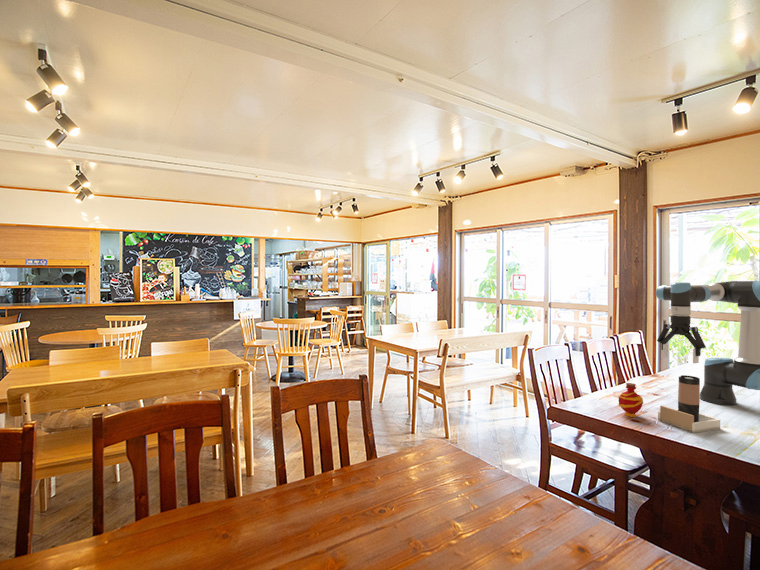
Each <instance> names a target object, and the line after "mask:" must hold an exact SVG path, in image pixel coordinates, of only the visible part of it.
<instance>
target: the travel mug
mask: <svg viewBox="0 0 760 570" xmlns="http://www.w3.org/2000/svg"><path fill="white" fill-rule="evenodd" d="M700 379H701V378H699V377H697V376H693V375H687V374H686V375H680V376H678V392H677V409H678V411H681V412H684V413H687V414H690V415H694V423H695V422H698V420H699V413H700V400H701V399H700V393H701V391H700V389H701V388H700V387H701V386H700V382H701V380H700Z"/></svg>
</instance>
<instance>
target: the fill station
mask: <svg viewBox="0 0 760 570" xmlns="http://www.w3.org/2000/svg"><path fill="white" fill-rule="evenodd" d="M657 421H659V422H661V423H665V424H668V425H670V426H673V427H677V428H680V429H682V430H684V431H685V430H686V431H687V432H691V433H693V434H697V433H704V432H709V431H714V430H716V431H717V430H720V429H721V419H719V418H716V417H712V416H709V415H705V414H702V413H700V412H699V420H698V422H695V423H694V415H690V414H687V413H684V412H681V411H678V408H670V407H667V406H664V405H660V407H659V411H657Z"/></svg>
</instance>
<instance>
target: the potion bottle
mask: <svg viewBox="0 0 760 570" xmlns="http://www.w3.org/2000/svg"><path fill="white" fill-rule="evenodd" d="M625 385H626V386H625V389H627V391H623V392H622V393H620V395H619V396H618V407H620V408H621V409H622V410H623V411H624V412H625V413H624V414H623V415H624V416H625V417H626V416H627V417H629V416H630V418H637V417H638V416H637V413H638V412H639V411H640V410H641V409H642V407H643V404H644V400H643V396H641V394H638V393H637V392H636V391H635V390H636V389H637V387H636V385H637V384H635V383H632V382H626V383H625Z"/></svg>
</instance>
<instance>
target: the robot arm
mask: <svg viewBox="0 0 760 570" xmlns="http://www.w3.org/2000/svg"><path fill="white" fill-rule="evenodd" d="M655 296H656V298H657V299H658V300H661V301H670V323H664V325H663V329H662V331H661V332H660V334H659V336H658V338H657V340H656V341H657V342H658V343H660V344H661V351H662V358H669V343H668V342H669V341H670V340H672V338H673V337H674V336H675V335H677V336H684V337H685V338H686V339H687V340H688V342H689V343H690V344H691V345H692V346H693V348H692V363H693V364H699V357H701V350H702V349H706V344H705V343H704V340H703V339H702V336H701V334H700V332H699V327H698V326H691V321H692V320H691V318H692V317H691V316H690V315H691V313H692V312H691V309H692V308H691V307H692V306H691V303H703V302H708V301H709V300H710V301H712V302H724V303H730V304H731V303H732V304H737V308H738V309H739V310H740V325H739V339H738V350H737V351H738V352H737V353H738V354H737V357H736V358H734V359H733V358H731V357H730V358H729V357H708V358H706V359H705V360H704V365H703V366H704V367H703V368H704V374H703V375H704V380H703V386H702V389H701V391H700V400H702V401H704V402H706V403H707V402H709V403H710V404H711V403H712V404H718V405H724V406H726V405H727V406H735V405H736V404H737V398H736V395H735V393H734V390H733V386H736V387H740V388H745V389H748V390H755V391H760V281H759V280H749V281H748V280H747V281H746V280H745V281H744V280H743V281H742V280H739V281H738V280H736V281H735V280H731V281H730V280H729V281H723V282H722V281H720V282H712V283H709V284H693V285H692V284H691V283H690V282H672V283H671V285H660V286H658V287H656V290H655ZM670 329H671V330H670ZM669 330H670V331H669ZM690 331H691V332H690ZM668 332H669V333H668Z"/></svg>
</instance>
